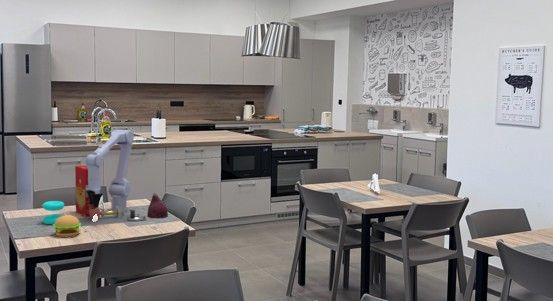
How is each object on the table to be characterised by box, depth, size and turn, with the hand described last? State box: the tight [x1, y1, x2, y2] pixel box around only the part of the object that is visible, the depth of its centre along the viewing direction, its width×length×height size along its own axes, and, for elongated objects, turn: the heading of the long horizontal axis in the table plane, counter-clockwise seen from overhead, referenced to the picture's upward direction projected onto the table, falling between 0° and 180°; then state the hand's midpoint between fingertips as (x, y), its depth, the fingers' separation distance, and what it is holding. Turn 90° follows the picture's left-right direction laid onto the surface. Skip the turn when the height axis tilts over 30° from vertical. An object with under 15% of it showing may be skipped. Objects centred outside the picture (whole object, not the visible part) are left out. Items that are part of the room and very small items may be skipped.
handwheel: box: [127, 209, 146, 222], centre depth 294 cm, size 9×9×5 cm
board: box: [77, 213, 148, 227], centre depth 292 cm, size 17×32×1 cm, turn 119°
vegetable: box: [146, 192, 169, 219], centre depth 301 cm, size 10×10×15 cm
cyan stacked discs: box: [41, 200, 65, 226], centre depth 286 cm, size 10×10×10 cm
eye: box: [114, 205, 123, 219], centre depth 298 cm, size 6×3×6 cm, turn 29°
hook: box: [89, 207, 124, 220], centre depth 295 cm, size 4×16×6 cm, turn 119°
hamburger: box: [52, 214, 81, 238], centre depth 265 cm, size 12×12×9 cm
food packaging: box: [74, 165, 94, 218], centre depth 302 cm, size 15×5×25 cm, turn 37°
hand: (94, 206), depth 291 cm, fingers open, 7 cm apart
